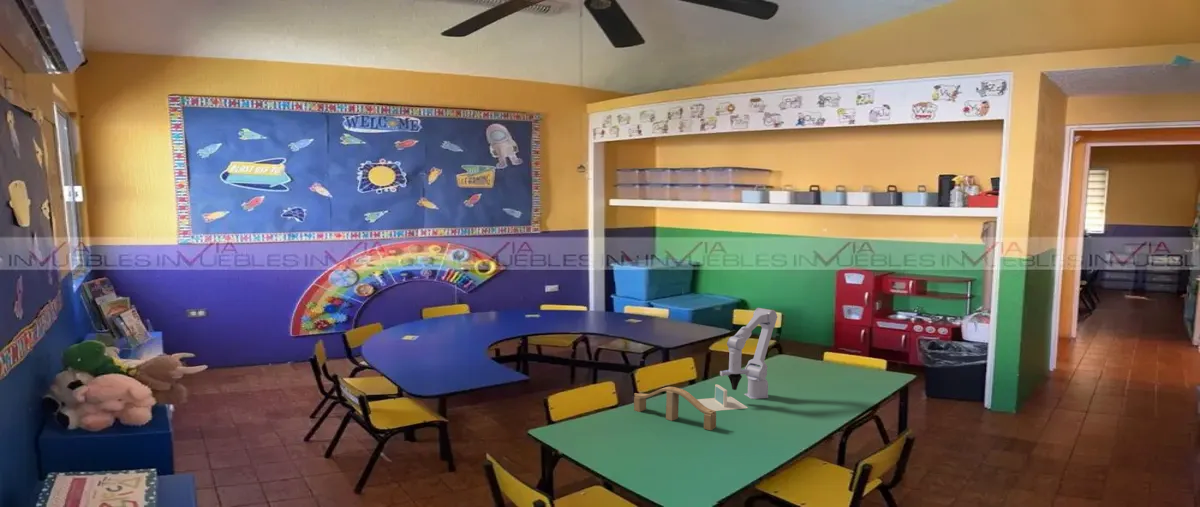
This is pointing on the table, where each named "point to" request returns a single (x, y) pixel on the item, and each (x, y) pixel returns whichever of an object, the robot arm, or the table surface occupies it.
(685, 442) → the table surface
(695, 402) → the toy bridge
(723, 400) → the tile
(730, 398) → the mat
